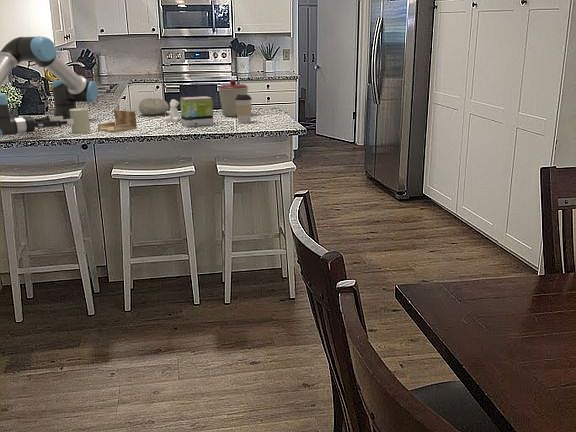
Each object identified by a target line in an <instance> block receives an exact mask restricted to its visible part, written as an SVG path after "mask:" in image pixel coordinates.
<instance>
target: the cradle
mask: <svg viewBox="0 0 576 432" xmlns="http://www.w3.org/2000/svg"><path fill="white" fill-rule="evenodd" d="M136 129H138V127H137V117H136V111H134V110H126V109H125V110H124V109H114V121H109V122H104V123H98V124H97V131H98V132H99V131H100V132H107V133H115V134H116V133H120V132H126V131H132V130H136Z"/></svg>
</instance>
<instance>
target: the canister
mask: <svg viewBox="0 0 576 432" xmlns="http://www.w3.org/2000/svg"><path fill="white" fill-rule="evenodd" d="M249 88H250V87H249V86H247V85H246V84H244V83H237V80H236V79H232V78H231V79H230V81H229V83H227V84H221V85H220V86H218V87H217V90H218V93H219V99H220V106H221V111H222V114H223V115H224V116H225V117H228V118H229V117H230V118H231V117H232V118H234V117H236V118H238V116H237V110H236V100H235V99H236V97H237V95H238V94H239V95H248V94H249V93H248V92H249Z"/></svg>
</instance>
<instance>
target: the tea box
mask: <svg viewBox="0 0 576 432" xmlns="http://www.w3.org/2000/svg"><path fill="white" fill-rule="evenodd" d="M213 101H214V100H213V97H210V96H207V95H205V96H201V95H200V96H186V97H185V96H184V97H183V96H182V97H179V105H180V121H181V123H180V124H181V125H182V126H185V127H186V128H188V127H201V126H213V125H214V107H213V106H214V105H213V103H214V102H213Z"/></svg>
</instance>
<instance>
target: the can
mask: <svg viewBox="0 0 576 432" xmlns="http://www.w3.org/2000/svg"><path fill="white" fill-rule="evenodd" d="M69 111H70V117H71V119H73V123H74V124H72V125H71V133H72V134H87V133H90V132H92V131H91V125H90V124H91V123H90V116H89V115H90V114H89V108H87V107H86V108H85V107H77V108H75V109H70V110H69Z"/></svg>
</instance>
